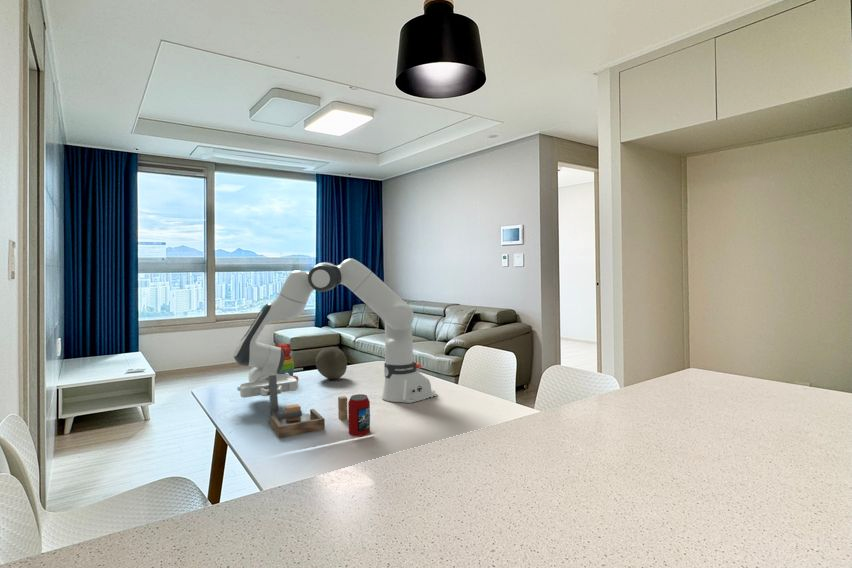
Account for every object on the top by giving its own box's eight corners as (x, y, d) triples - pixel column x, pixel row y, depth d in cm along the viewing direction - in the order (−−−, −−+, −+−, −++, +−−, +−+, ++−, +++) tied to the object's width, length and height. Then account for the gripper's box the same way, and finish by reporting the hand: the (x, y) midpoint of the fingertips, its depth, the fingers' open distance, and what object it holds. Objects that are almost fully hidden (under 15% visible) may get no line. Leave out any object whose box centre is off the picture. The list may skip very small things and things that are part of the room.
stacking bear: (299, 378, 217) (298, 341, 217) (291, 384, 207) (290, 345, 207) (277, 378, 219) (276, 341, 218) (268, 384, 208) (267, 345, 208)
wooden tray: (308, 415, 166) (308, 403, 166) (324, 431, 150) (324, 418, 149) (266, 422, 159) (266, 410, 158) (279, 440, 142) (278, 427, 142)
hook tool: (293, 411, 168) (291, 372, 169) (301, 416, 156) (299, 374, 158) (270, 415, 164) (268, 375, 165) (276, 420, 152) (274, 377, 154)
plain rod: (345, 418, 162) (344, 395, 162) (347, 420, 160) (347, 397, 159) (338, 419, 161) (338, 397, 160) (340, 421, 159) (340, 398, 158)
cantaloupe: (332, 374, 226) (332, 343, 225) (353, 378, 218) (353, 346, 217) (309, 380, 215) (309, 348, 214) (331, 385, 206) (330, 351, 206)
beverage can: (366, 438, 143) (365, 400, 143) (345, 437, 145) (344, 399, 144) (372, 430, 150) (372, 394, 149) (353, 429, 151) (352, 393, 151)
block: (298, 416, 162) (297, 404, 162) (301, 419, 158) (300, 406, 158) (284, 419, 160) (284, 405, 160) (287, 421, 156) (286, 408, 156)
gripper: (236, 379, 170) (242, 387, 158) (292, 372, 180) (301, 379, 168) (236, 396, 170) (242, 405, 158) (292, 388, 181) (302, 396, 169)
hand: (273, 392), depth 163 cm, fingers closed on hook tool, 2 cm apart
